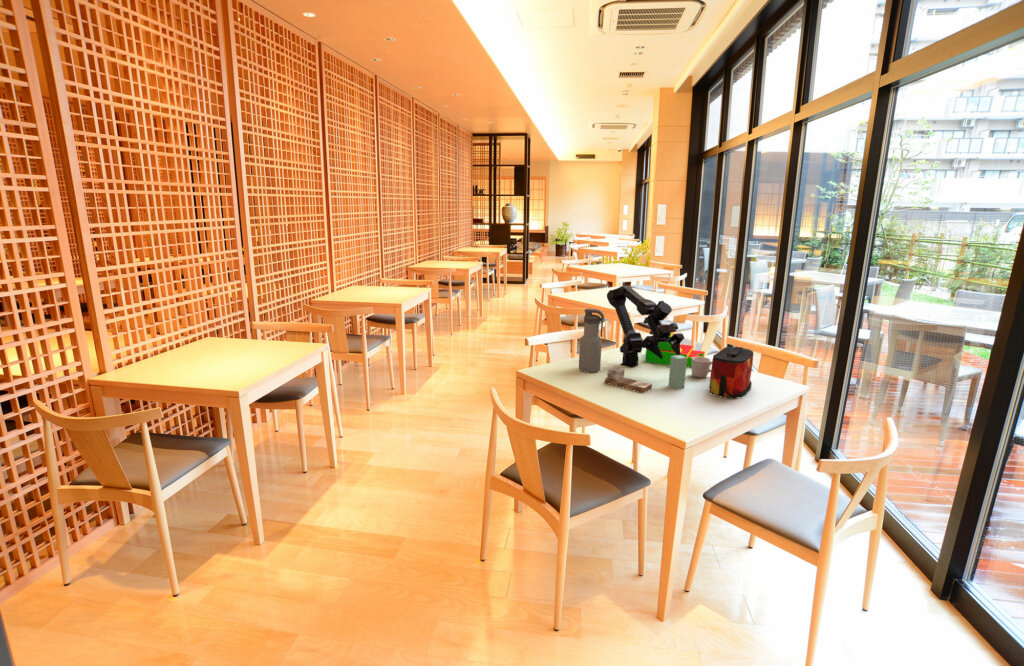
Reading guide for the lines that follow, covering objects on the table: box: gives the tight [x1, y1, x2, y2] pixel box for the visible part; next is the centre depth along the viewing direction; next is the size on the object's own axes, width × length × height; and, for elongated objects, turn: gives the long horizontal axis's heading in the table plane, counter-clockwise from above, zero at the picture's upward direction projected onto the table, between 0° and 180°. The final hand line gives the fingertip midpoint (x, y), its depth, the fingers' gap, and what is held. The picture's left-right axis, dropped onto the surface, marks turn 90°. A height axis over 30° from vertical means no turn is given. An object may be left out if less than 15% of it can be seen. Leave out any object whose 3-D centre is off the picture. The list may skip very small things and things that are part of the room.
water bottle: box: [578, 308, 605, 373], centre depth 237 cm, size 10×10×28 cm
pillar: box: [667, 355, 687, 390], centre depth 218 cm, size 4×4×13 cm
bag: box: [708, 346, 754, 399], centre depth 216 cm, size 30×14×16 cm, turn 143°
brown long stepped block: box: [604, 366, 653, 394], centre depth 219 cm, size 18×7×6 cm, turn 48°
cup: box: [691, 356, 712, 379], centre depth 233 cm, size 11×8×8 cm
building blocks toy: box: [644, 323, 706, 368], centre depth 256 cm, size 19×25×18 cm
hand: (670, 357), depth 221 cm, fingers open, 9 cm apart
